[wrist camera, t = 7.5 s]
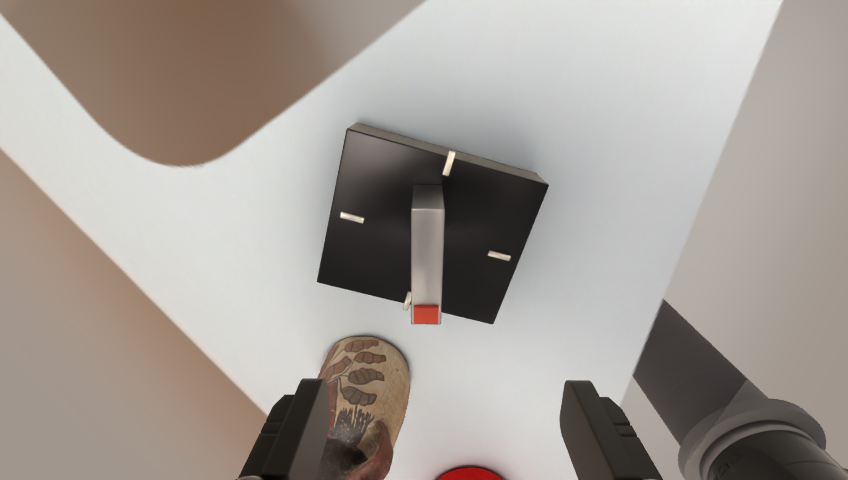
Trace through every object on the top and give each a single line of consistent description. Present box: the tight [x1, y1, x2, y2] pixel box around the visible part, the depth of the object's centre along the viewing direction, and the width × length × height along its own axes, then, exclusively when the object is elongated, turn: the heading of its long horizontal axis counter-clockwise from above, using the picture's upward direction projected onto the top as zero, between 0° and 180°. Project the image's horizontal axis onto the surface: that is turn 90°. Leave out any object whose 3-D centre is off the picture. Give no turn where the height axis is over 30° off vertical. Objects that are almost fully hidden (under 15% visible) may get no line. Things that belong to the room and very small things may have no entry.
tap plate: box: [317, 123, 549, 324], centre depth 26 cm, size 12×11×3 cm
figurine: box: [315, 337, 410, 480], centre depth 27 cm, size 7×7×12 cm
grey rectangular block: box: [411, 185, 445, 324], centre depth 22 cm, size 6×2×5 cm, turn 179°
